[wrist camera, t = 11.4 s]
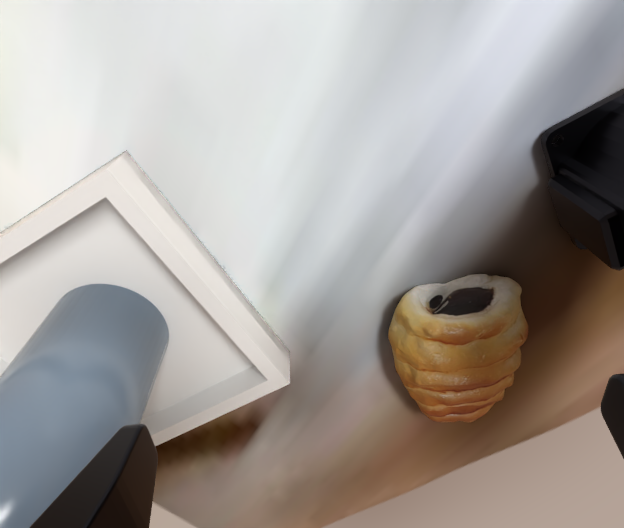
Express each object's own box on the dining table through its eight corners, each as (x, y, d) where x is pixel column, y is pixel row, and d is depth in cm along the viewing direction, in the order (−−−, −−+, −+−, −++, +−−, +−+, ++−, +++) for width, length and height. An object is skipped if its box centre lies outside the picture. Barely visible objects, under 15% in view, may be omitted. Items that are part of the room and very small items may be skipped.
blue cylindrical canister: (117, 259, 20) (-125, 619, 9) (197, 346, 23) (98, 712, 11) (20, 314, 22) (-307, 693, 10) (106, 391, 25) (-67, 760, 13)
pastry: (504, 391, 28) (533, 444, 24) (394, 408, 28) (408, 463, 25) (512, 260, 23) (549, 304, 20) (379, 283, 23) (395, 330, 20)
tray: (126, 150, 19) (106, 169, 17) (289, 351, 25) (290, 383, 23) (-85, 288, 22) (-124, 319, 20) (107, 439, 28) (93, 475, 26)
